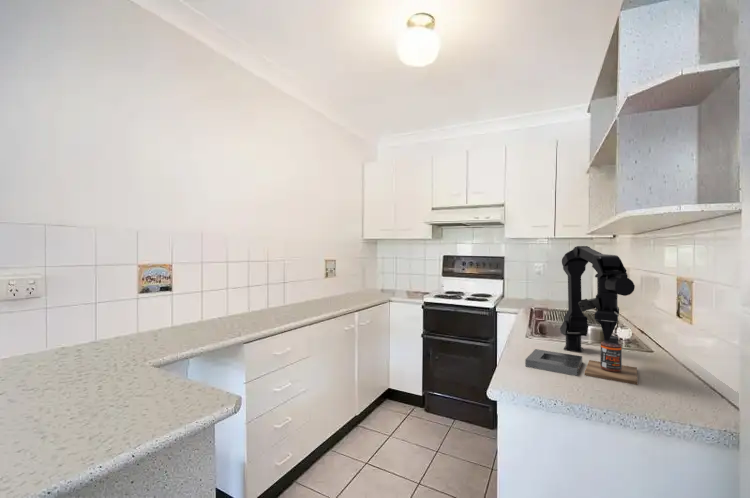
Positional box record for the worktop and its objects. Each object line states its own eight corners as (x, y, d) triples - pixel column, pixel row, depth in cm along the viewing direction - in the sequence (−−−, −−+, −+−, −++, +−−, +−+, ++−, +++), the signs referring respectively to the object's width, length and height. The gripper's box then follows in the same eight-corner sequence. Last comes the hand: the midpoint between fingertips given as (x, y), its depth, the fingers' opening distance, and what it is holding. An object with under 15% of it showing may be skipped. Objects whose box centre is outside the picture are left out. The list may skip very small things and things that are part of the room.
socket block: (535, 355, 135) (535, 349, 136) (582, 363, 126) (582, 356, 126) (525, 366, 123) (525, 359, 123) (576, 375, 113) (576, 368, 113)
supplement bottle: (605, 372, 113) (605, 338, 113) (597, 366, 119) (597, 333, 119) (625, 373, 112) (625, 338, 112) (616, 367, 118) (616, 334, 118)
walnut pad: (589, 362, 126) (589, 359, 126) (636, 370, 118) (636, 367, 118) (584, 375, 113) (584, 372, 113) (637, 385, 105) (637, 381, 105)
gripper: (582, 287, 129) (583, 328, 129) (576, 293, 115) (577, 339, 115) (619, 289, 123) (619, 332, 123) (617, 295, 108) (617, 344, 108)
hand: (607, 337), depth 117 cm, fingers open, 9 cm apart
